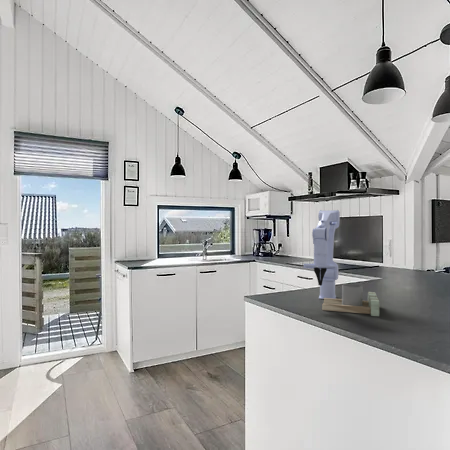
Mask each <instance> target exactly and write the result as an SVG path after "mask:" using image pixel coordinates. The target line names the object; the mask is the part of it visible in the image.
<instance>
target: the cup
mask: <svg viewBox="0 0 450 450" xmlns="http://www.w3.org/2000/svg"><path fill="white" fill-rule="evenodd" d="M363 288H364V287H363V285H361V284H353V283H350V284H349V283H344V284H342V285H341V299H342V305H350V306H362V301H363Z"/></svg>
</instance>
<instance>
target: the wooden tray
mask: <svg viewBox="0 0 450 450" xmlns="http://www.w3.org/2000/svg"><path fill="white" fill-rule="evenodd" d="M321 307H322V308H321V310H322V311H330V312H341V313H342V312H343V313H355V314H364V315H365V314H367V315H370V316H371V317H380V300H379V297H378V296H377V293H376V291H375V292H373V291H368V292H367V300H362V306H350V305H342V298H336V299H333V298H324V299H323V303H322V305H321Z"/></svg>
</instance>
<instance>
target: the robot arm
mask: <svg viewBox="0 0 450 450" xmlns="http://www.w3.org/2000/svg"><path fill="white" fill-rule="evenodd" d="M340 214H341V212H340V210H339V209H335V210H334V209H333V210H329V209H328V210H326V209H325V210H322V209H320V210H319V211H318V223H317V224H316V226H315V227H314V228H313V229H312V232H311V233H312V234H311V236H312V243H313V263H303V269H313V271H314V273H315V276H316V278H317V280H316V281H317V284H318V286H319V296H318V299H319V300H324V298H333V299H337V295H336V281H337V280H338V279H339V265H338V263H336V261H334V247H335V245H334V243H335V233H336V229H338V228H339V227H340V223H341V221H340V219H341V217H340V216H341V215H340Z"/></svg>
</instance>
